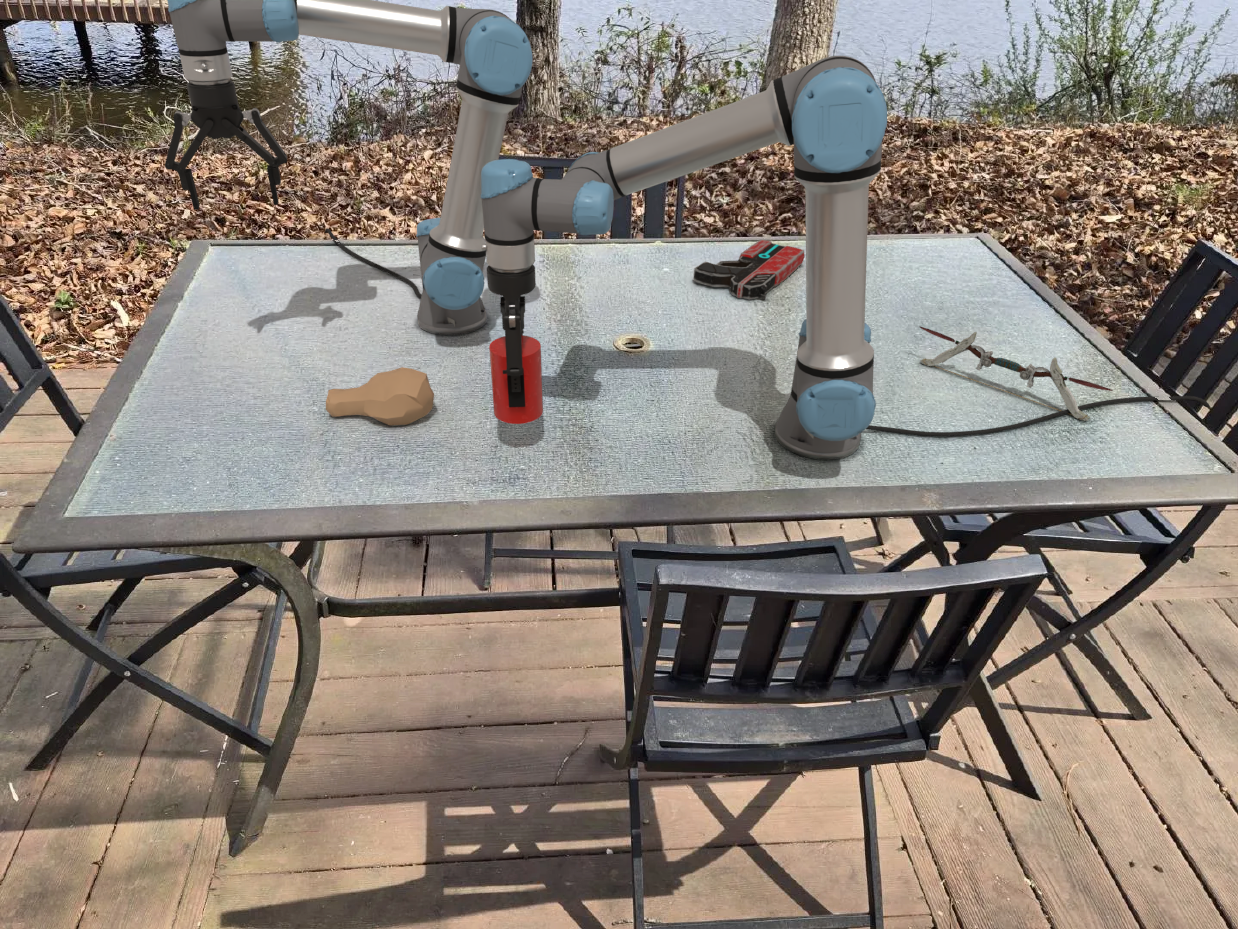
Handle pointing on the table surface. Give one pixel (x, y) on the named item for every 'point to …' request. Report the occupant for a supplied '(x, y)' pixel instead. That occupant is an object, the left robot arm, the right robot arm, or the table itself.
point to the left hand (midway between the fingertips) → (237, 205)
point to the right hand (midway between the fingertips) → (517, 392)
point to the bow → (1025, 373)
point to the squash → (386, 397)
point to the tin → (531, 381)
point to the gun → (752, 270)
